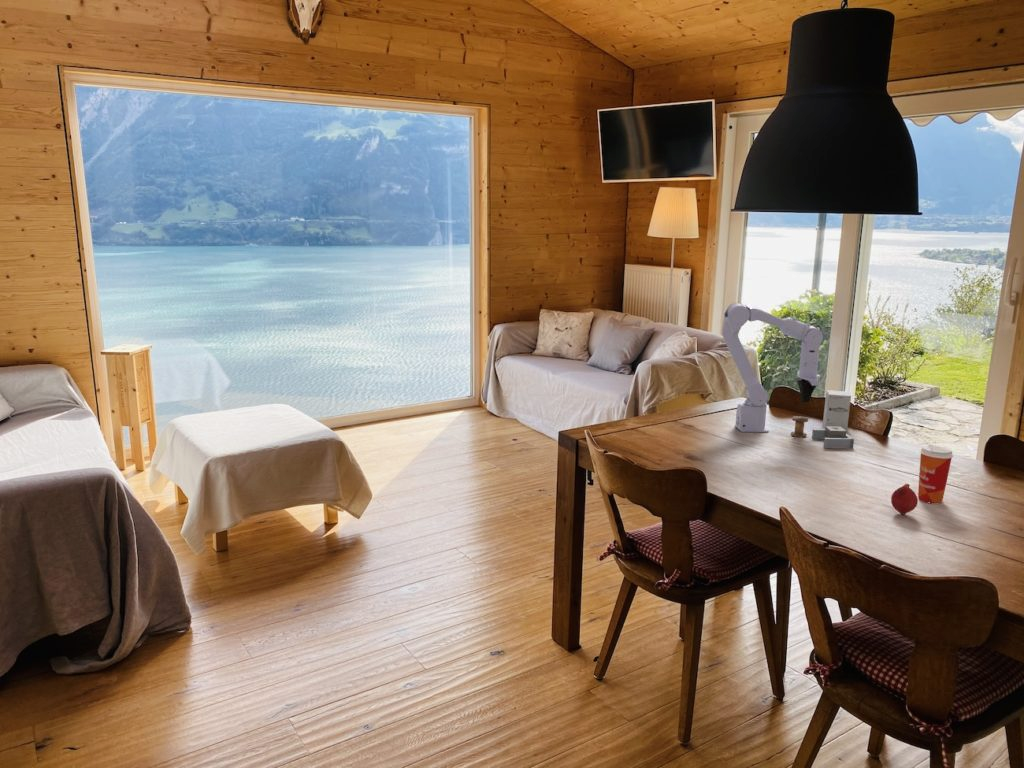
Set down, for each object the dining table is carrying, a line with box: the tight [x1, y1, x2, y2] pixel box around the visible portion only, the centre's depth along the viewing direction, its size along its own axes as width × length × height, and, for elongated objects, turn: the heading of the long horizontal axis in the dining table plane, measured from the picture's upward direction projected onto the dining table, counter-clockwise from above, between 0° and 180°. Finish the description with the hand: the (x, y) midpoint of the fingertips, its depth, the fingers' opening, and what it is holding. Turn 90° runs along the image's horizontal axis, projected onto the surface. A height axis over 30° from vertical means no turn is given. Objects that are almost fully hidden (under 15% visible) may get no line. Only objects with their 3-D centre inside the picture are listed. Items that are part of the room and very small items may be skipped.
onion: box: [890, 483, 919, 515], centre depth 190 cm, size 6×6×8 cm
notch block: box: [811, 428, 855, 449], centre depth 249 cm, size 9×11×3 cm
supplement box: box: [822, 389, 852, 432], centre depth 265 cm, size 7×7×13 cm
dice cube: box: [824, 426, 847, 438], centre depth 248 cm, size 5×5×5 cm
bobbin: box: [790, 415, 809, 438], centre depth 256 cm, size 5×5×6 cm
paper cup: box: [917, 444, 954, 504], centre depth 199 cm, size 8×8×14 cm
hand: (805, 401), depth 260 cm, fingers closed
